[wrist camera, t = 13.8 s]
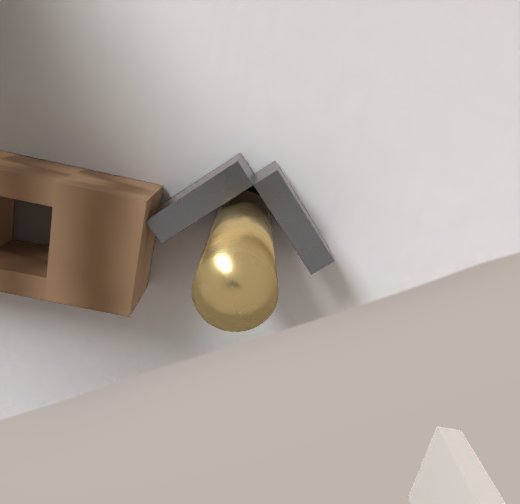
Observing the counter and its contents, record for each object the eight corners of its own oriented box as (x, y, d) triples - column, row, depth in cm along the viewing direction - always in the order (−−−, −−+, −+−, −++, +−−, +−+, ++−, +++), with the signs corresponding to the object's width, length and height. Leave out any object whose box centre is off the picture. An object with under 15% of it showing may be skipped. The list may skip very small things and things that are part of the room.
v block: (156, 222, 40) (142, 239, 35) (169, 137, 37) (156, 143, 33) (321, 257, 40) (329, 278, 36) (343, 175, 38) (355, 187, 34)
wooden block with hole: (-65, 244, 40) (-119, 268, 34) (-64, 137, 37) (-123, 144, 32) (147, 286, 41) (129, 316, 36) (163, 185, 39) (146, 201, 33)
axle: (212, 236, 40) (185, 322, 25) (222, 185, 39) (200, 243, 23) (264, 247, 40) (267, 338, 25) (275, 197, 39) (287, 261, 24)
